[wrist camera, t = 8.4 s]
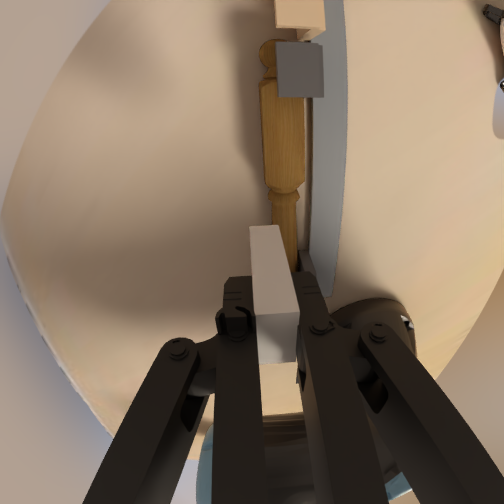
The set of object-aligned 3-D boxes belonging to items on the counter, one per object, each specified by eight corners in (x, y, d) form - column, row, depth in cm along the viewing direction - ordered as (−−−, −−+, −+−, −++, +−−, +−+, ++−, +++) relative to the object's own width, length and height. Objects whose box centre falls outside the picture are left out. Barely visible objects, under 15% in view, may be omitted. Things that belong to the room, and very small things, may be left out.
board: (330, 293, 32) (343, 329, 27) (255, 298, 32) (257, 338, 27) (338, -23, 15) (362, -46, 10) (235, -28, 15) (234, -56, 10)
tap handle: (271, 340, 32) (257, 36, 16) (269, 321, 35) (255, 43, 19) (298, 338, 32) (300, 36, 16) (294, 319, 35) (293, 42, 19)
